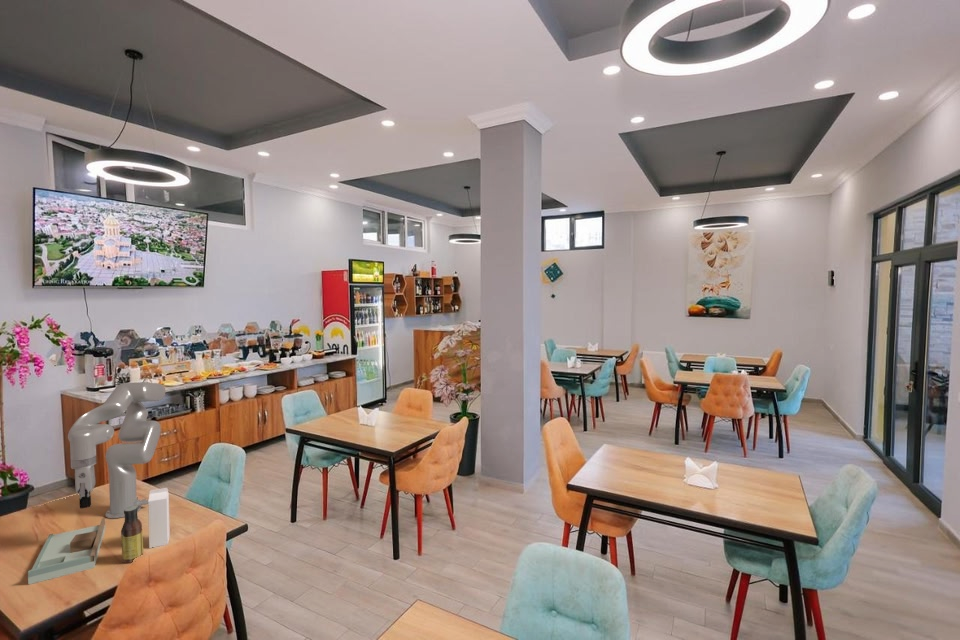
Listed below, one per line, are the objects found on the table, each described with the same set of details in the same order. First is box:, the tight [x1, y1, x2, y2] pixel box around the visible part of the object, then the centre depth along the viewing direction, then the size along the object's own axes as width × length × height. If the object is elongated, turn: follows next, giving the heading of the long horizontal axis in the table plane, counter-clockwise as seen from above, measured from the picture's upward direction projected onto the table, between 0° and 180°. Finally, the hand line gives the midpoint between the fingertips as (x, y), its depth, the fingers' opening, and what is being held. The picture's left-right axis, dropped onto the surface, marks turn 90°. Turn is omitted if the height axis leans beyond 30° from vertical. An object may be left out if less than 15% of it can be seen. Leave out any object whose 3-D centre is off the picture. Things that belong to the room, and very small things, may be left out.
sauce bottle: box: [120, 506, 144, 564], centre depth 165 cm, size 7×6×20 cm
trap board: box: [27, 517, 106, 586], centre depth 168 cm, size 17×32×5 cm, turn 35°
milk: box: [147, 487, 171, 549], centre depth 176 cm, size 6×6×22 cm
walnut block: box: [70, 531, 96, 553], centre depth 168 cm, size 6×6×4 cm
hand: (85, 506), depth 175 cm, fingers closed
